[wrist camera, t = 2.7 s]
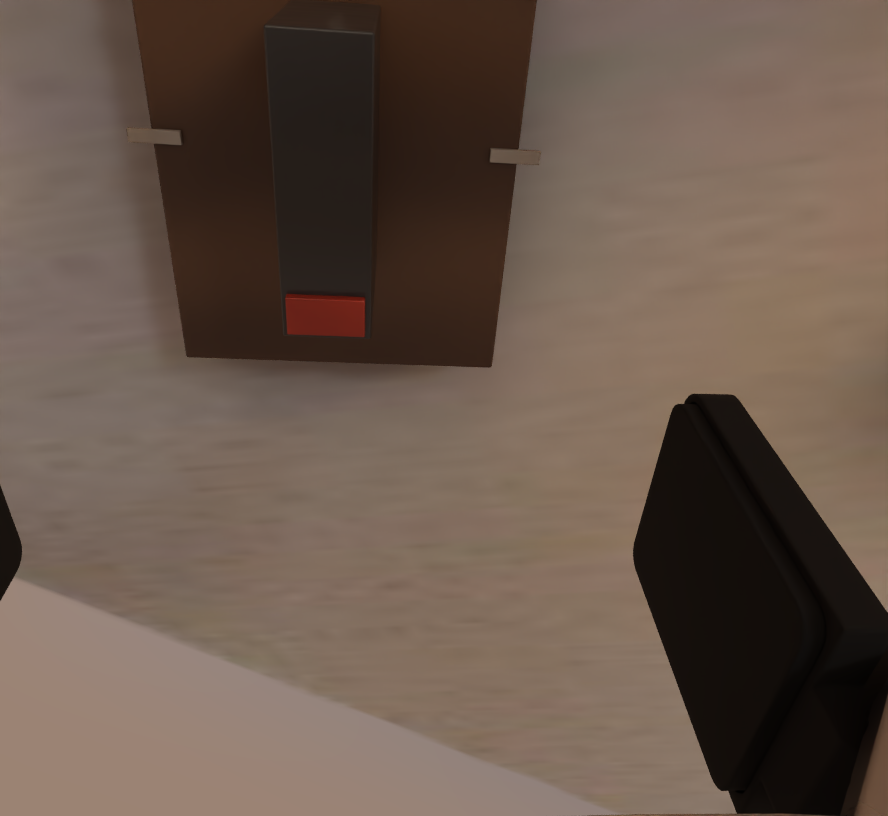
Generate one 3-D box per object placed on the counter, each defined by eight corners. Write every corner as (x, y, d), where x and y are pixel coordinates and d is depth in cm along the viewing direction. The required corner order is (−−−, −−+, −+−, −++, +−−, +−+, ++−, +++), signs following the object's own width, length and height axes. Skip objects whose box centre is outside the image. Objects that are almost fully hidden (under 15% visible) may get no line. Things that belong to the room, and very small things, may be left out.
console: (116, -189, 18) (68, -203, 16) (559, -150, 19) (584, -157, 17) (189, 314, 26) (165, 359, 24) (499, 326, 27) (510, 371, 24)
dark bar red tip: (291, -2, 18) (260, 26, 14) (380, 4, 18) (374, 34, 14) (302, 263, 22) (281, 341, 18) (376, 266, 22) (370, 344, 18)
